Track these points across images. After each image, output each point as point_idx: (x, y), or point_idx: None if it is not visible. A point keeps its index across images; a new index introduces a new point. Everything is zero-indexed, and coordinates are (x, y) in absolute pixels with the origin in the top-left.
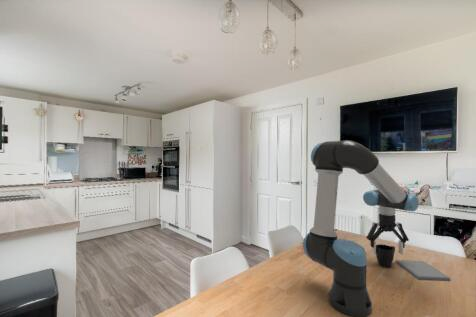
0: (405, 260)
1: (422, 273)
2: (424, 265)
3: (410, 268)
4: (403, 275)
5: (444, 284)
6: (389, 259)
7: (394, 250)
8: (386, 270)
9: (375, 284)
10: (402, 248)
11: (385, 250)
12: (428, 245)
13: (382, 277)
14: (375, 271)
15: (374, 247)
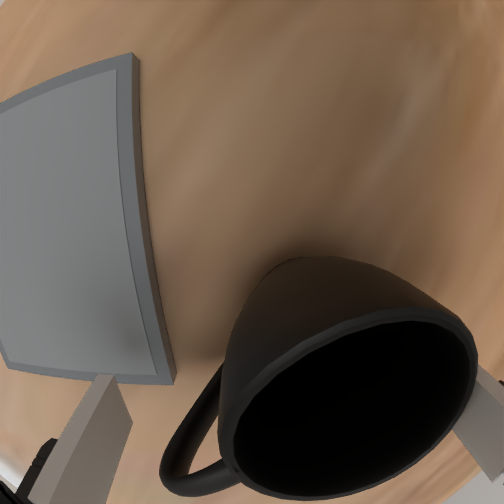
0: None
1: (60, 131)
2: (4, 300)
3: (107, 218)
4: (226, 104)
5: (21, 58)
6: (315, 260)
7: (171, 447)
8: (341, 187)
9: (459, 9)
10: (72, 428)
11: (434, 302)
12: (15, 485)
13: (414, 66)
14: (432, 159)
15: (492, 377)
